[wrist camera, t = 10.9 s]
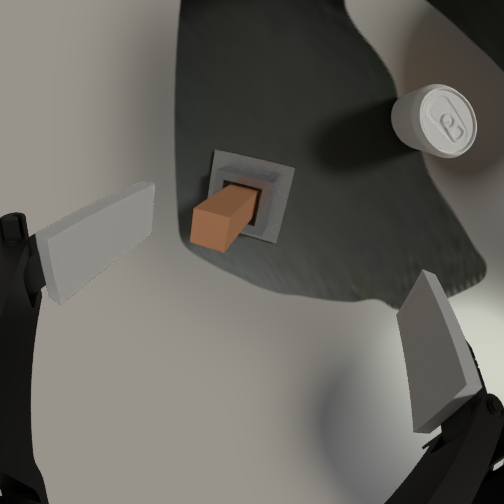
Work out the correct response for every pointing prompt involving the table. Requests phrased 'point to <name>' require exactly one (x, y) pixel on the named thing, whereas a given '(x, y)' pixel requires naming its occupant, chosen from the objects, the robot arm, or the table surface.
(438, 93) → the beverage can
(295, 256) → the table surface
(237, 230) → the orange square peg
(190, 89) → the table surface
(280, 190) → the grey square socket
